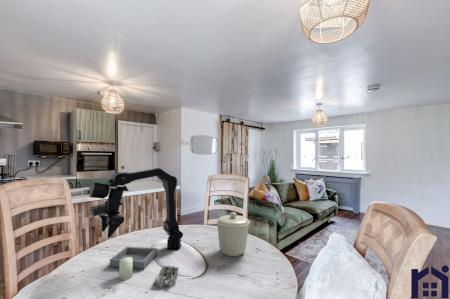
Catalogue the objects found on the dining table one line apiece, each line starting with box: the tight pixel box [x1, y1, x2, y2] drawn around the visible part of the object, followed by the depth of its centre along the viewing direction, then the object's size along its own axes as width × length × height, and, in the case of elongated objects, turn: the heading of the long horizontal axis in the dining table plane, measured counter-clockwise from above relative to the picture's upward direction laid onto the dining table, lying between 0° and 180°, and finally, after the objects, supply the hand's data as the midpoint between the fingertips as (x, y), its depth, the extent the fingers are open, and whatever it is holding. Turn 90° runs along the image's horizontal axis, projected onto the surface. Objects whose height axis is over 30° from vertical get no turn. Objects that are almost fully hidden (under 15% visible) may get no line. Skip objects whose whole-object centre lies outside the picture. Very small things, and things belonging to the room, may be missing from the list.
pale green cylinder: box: [118, 257, 133, 281], centre depth 91 cm, size 5×5×7 cm
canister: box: [215, 211, 251, 257], centre depth 116 cm, size 18×18×21 cm
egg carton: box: [156, 265, 179, 288], centre depth 89 cm, size 11×8×4 cm
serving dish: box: [109, 246, 158, 271], centre depth 104 cm, size 16×14×4 cm
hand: (105, 234), depth 98 cm, fingers open, 9 cm apart
